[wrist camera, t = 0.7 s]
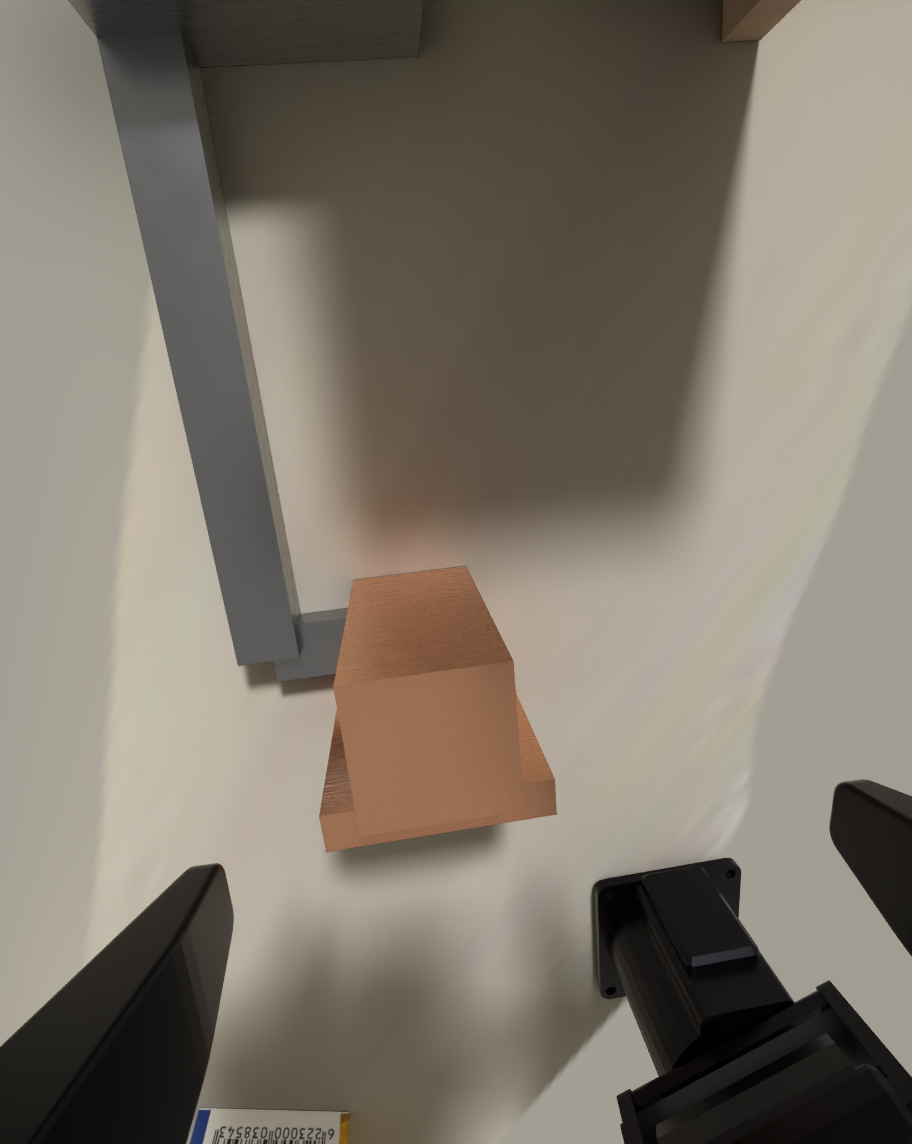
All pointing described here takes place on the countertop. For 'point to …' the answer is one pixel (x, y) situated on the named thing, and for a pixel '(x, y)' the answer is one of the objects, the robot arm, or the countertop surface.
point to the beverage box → (270, 1127)
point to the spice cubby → (752, 18)
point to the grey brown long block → (244, 463)
